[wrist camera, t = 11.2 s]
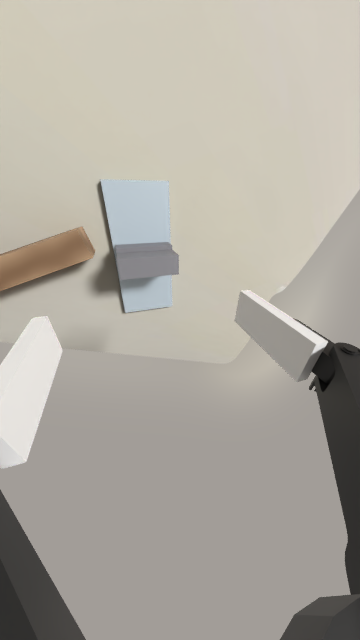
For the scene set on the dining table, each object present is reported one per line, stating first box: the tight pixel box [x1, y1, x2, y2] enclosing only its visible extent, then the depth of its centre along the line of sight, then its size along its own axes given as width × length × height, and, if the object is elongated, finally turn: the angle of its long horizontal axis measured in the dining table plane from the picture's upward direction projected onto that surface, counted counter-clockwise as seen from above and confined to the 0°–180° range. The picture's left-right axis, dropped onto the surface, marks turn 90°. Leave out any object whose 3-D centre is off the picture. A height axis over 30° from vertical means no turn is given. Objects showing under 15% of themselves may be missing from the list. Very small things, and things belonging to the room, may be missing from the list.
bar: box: [0, 227, 95, 291], centre depth 28 cm, size 4×21×5 cm, turn 106°
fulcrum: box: [100, 179, 179, 313], centre depth 31 cm, size 10×22×8 cm, turn 0°
